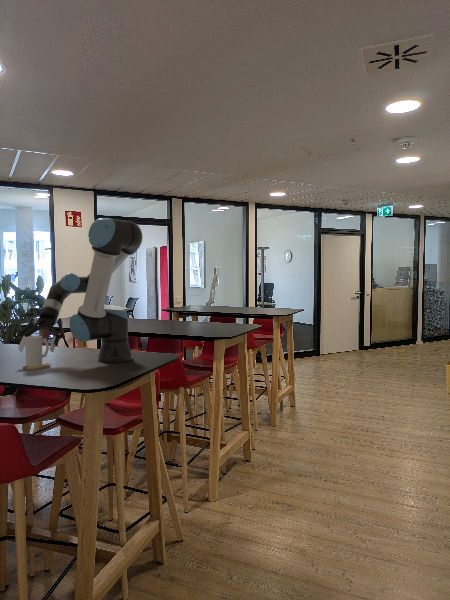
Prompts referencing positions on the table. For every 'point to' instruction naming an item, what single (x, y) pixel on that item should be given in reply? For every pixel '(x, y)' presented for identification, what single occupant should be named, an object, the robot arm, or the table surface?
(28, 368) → the stand
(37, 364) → the mug
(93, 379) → the table surface
